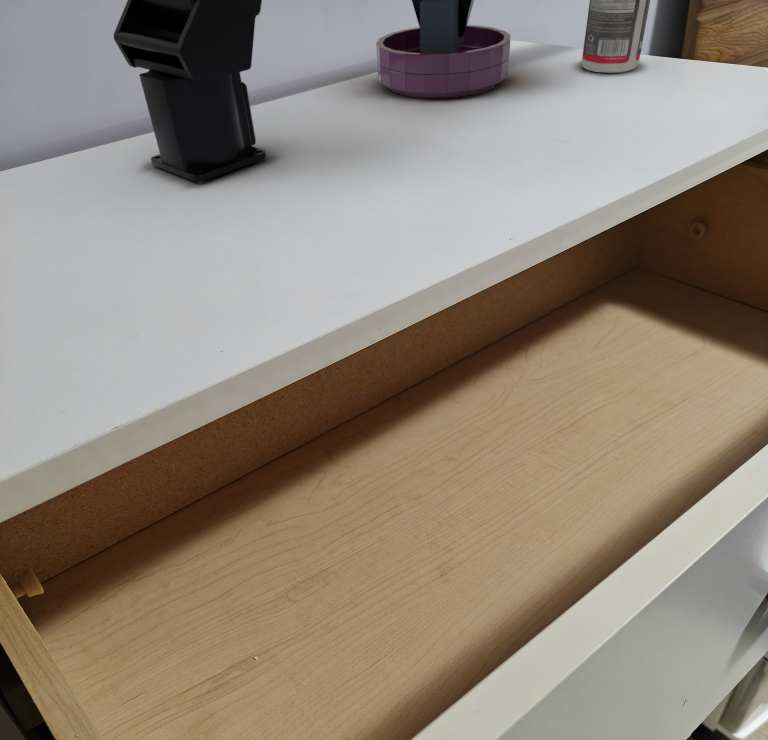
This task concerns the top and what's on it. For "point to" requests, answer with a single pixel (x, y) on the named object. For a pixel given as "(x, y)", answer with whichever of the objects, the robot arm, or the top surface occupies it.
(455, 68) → the bowl
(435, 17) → the eraser
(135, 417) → the top surface
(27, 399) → the top surface
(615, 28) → the pill bottle
